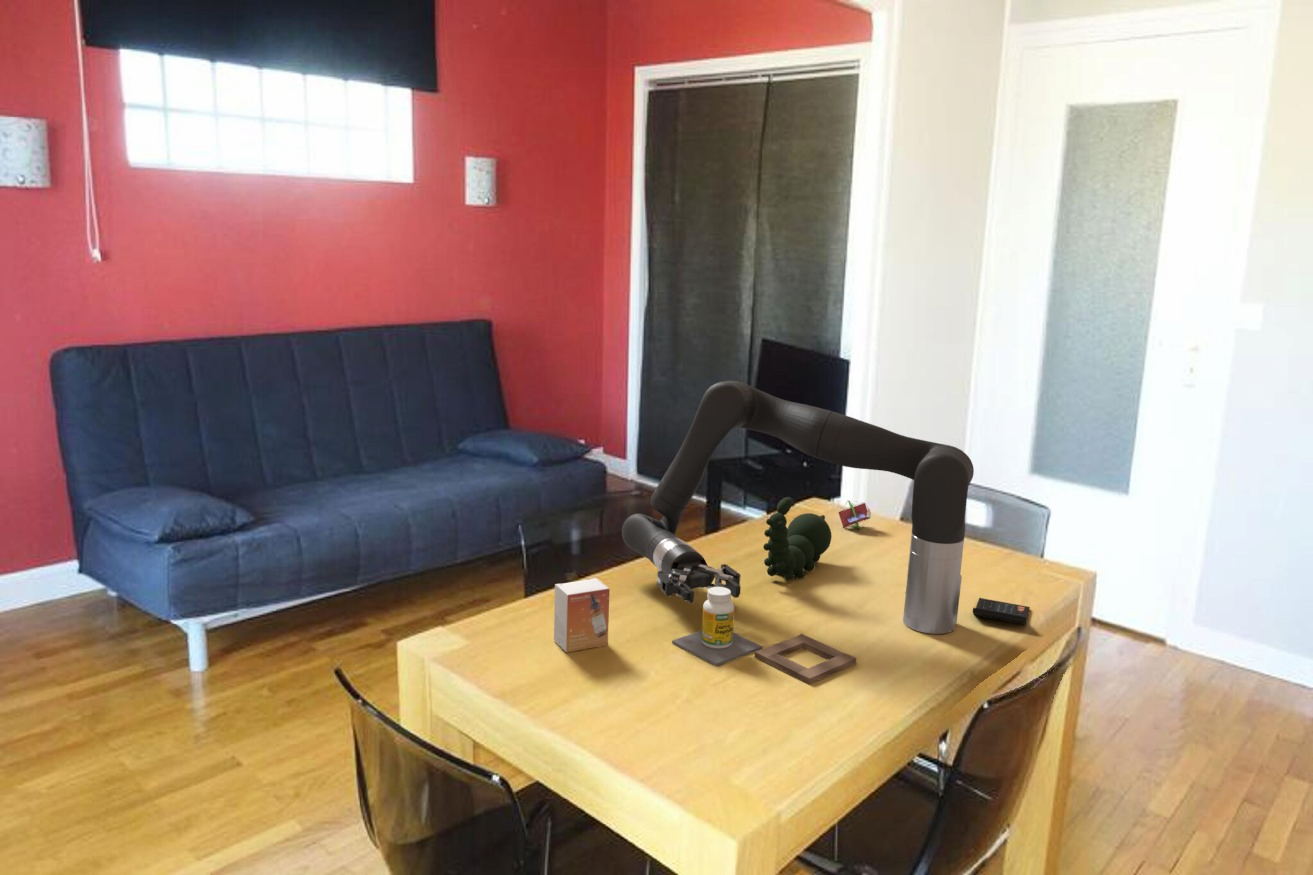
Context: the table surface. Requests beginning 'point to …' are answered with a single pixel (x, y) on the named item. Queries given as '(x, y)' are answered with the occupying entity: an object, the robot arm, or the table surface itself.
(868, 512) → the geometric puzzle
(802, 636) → the walnut dock
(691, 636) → the charcoal mat
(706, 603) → the supplement bottle
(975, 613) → the black flat block
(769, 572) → the toy figurine
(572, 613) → the small box
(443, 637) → the table surface
